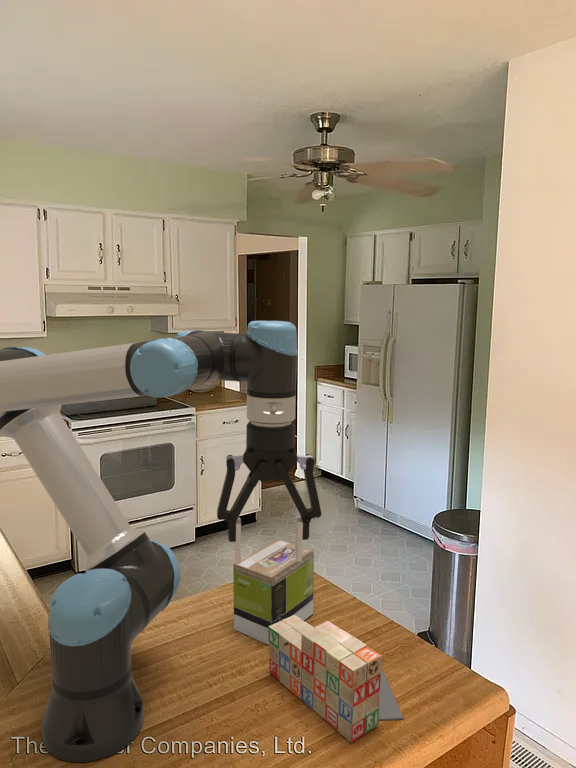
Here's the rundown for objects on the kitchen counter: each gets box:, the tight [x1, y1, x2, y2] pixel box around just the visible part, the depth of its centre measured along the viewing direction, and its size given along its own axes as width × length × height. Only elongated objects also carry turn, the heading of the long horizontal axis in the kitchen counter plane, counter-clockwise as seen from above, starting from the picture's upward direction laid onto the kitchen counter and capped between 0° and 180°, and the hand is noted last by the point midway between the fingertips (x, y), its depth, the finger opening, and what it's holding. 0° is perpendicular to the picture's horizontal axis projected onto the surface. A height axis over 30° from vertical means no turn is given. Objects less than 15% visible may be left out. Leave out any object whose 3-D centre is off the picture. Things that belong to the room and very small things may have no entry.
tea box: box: [232, 538, 315, 646], centre depth 123 cm, size 15×10×15 cm, turn 144°
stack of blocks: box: [268, 615, 382, 743], centre depth 100 cm, size 21×6×12 cm, turn 38°
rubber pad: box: [379, 670, 404, 722], centre depth 102 cm, size 7×12×1 cm, turn 7°
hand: (268, 558), depth 96 cm, fingers open, 9 cm apart
